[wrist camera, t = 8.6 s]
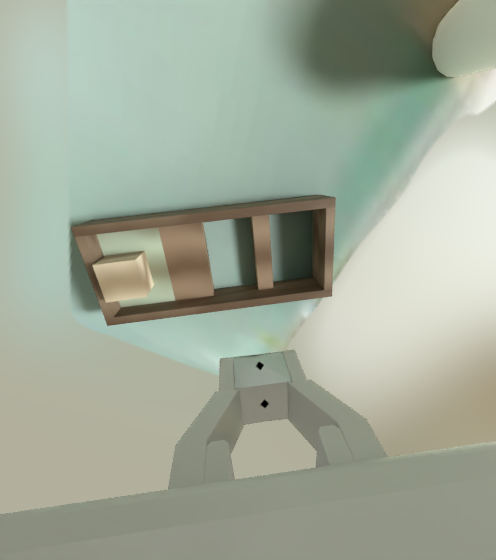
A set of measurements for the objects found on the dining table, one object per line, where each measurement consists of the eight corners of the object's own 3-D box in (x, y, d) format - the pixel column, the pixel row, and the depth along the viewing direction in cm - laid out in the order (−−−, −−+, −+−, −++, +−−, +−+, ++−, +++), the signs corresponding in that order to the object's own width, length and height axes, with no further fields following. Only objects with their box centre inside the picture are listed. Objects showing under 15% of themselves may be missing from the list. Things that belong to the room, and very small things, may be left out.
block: (106, 255, 30) (92, 265, 27) (144, 250, 30) (135, 259, 27) (117, 289, 32) (106, 302, 28) (153, 284, 32) (146, 297, 29)
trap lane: (91, 220, 30) (70, 227, 26) (320, 194, 31) (335, 197, 27) (121, 307, 35) (107, 325, 31) (319, 282, 36) (331, 296, 32)
